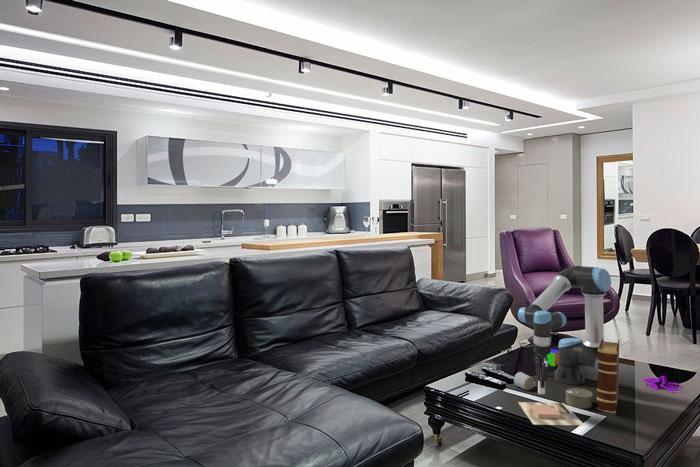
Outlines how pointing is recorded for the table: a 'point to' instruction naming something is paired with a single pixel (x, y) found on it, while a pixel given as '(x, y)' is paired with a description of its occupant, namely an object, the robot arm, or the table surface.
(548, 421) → the board
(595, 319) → the robot arm
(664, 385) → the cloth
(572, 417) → the turner
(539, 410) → the tile
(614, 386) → the decorative book
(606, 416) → the table surface
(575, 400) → the beige short cylinder
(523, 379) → the grey cylinder
